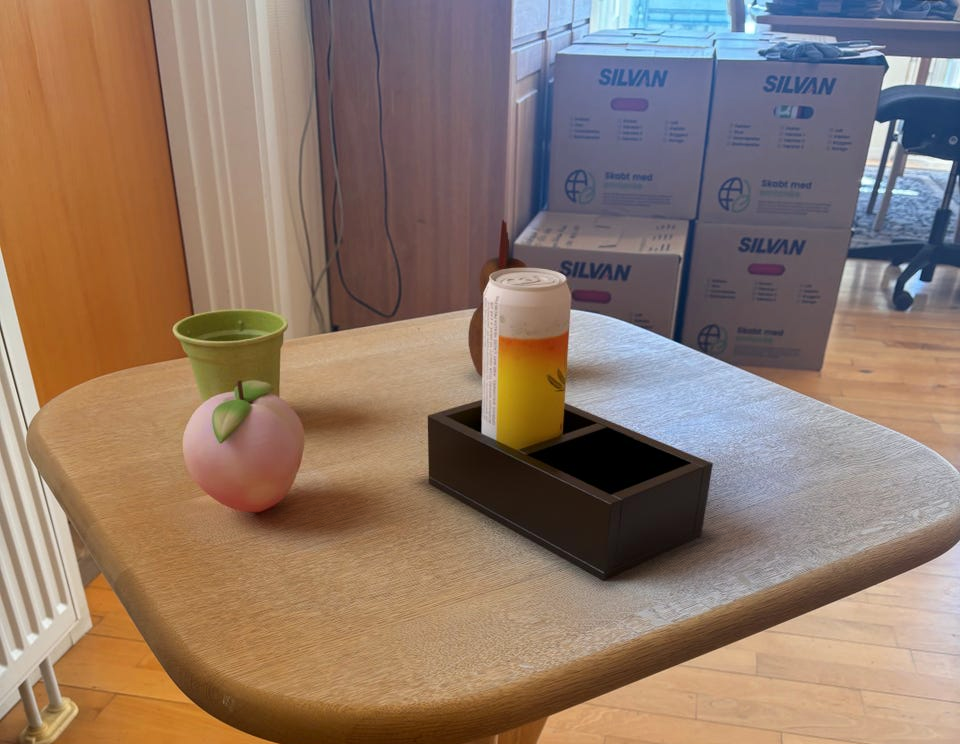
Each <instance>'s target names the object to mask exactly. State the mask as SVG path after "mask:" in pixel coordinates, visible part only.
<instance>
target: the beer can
mask: <svg viewBox="0 0 960 744" xmlns="http://www.w3.org/2000/svg"><path fill="white" fill-rule="evenodd" d="M567 279H568V278H567V276H566V275H564V274H563V273H561V272H559V271H555V270H551V269H547V268H538V267H527V268H510V269H504V270H499V271H496V272H494V273H492V274H491V275H490V277H489V282H488V284H487V286H486V289H485V291H484V293H483V296H482V297H483V301H482V302H483V365H482V377H481V380H482V381H481V400H482V434H484V435H486V436H488V437H490V438H492V439H495V440H497V441H499V442H501V443H503V444H505V445H507V446H509V447H511V448H513V449H516V450H518V449H521V448H524V447H527V446H530V445H534V444H537V443H540V442H543V441H546V440H549V439H552V438H555V437H558V436H561V435H563V420H564V404H565V403H566V387H567V370H568V356H569V355H568V354H569V340H570V339H569V338H570V325H571V308H572V293H571V291H570V288H569V285H568V282H567Z"/></svg>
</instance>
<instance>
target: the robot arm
mask: <svg viewBox="0 0 960 744" xmlns="http://www.w3.org/2000/svg"><path fill="white" fill-rule="evenodd" d="M915 1H919V2H920V1H921V2H922V1H923V2H943V1H944V0H915Z"/></svg>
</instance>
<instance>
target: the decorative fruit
mask: <svg viewBox="0 0 960 744" xmlns="http://www.w3.org/2000/svg"><path fill="white" fill-rule="evenodd" d="M272 390H274V387H273V386H272V385H270V384H268V383H265V382H262V381H255V380H253V381H246V382H243V383H242V381H241V380H237V386H236V387H235V388H234V391H232V392H227V393H223V394H219V395H216V396H214V397H212V398H210V399H208V400H207V401H205V402H204V403H203V402H202V404H201V405H199V406H198V407H197V408H196V410H194V412H193V414H192V415H191V417H190V419H189V420H188V422H187V425H186V427H185V430H184V432H183V436H182V452H183V453H182V454H183V459H184V463H185V466H186V468H187V471H188V473H189V474H190V476H191V478H192V479H193V481H194V482H195V483H196V485H197V486H199V488H200V489H201V490H202V491H203V492H204V493H205V494H207V495H208V496H210V497H211V498H212V499H213V500H215V501H217V502H218V503H220V504H221V505H222V506H225V507H228V508H230V509H232V510H236V511H239V512H245V513H261V512H263V511H266V510H268V509H270V508H271V507H273V506H275V505H277V503H280V502H281V501H282V500H283V499H284V498H285V497H286V495H287V494H288V493H289V492H290V489H291V488H292V487H293V485H294V483H295V480H296V477H297V474H298V472H299V469H300V467H301V464H302V461H303V460H302V459H303V454H304V448H305V440H306V439H305V429H304V425H303V424H302V423H303V422H302V420H301V419H300V417H299V415H298V414H297V413H296V411H295V410H294V409H293V407H292V406H291V405H290V404H289V403H288V402H287V401H285V400H284V399H282V398H281V397H280V396H279V397H278V396H276V395H274V394H271V393H269V392H270V391H272Z"/></svg>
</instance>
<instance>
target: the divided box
mask: <svg viewBox="0 0 960 744" xmlns="http://www.w3.org/2000/svg"><path fill="white" fill-rule="evenodd" d="M427 451H428V453H427V455H428V456H427V458H428V459H427V460H428V462H427V463H428V464H427V465H428V485H430V486H431V487H433V488H435V489H437V490H438V491H440V492H442V493H444V494H446V495H447V496H449V497H451V498H453V499H455V500H456V501H458V502H460V503H462V504H464V505H466V506H467V507H469V508H471V509H473V510H474V511H476V512H478V513H480V514H481V515H484V516H485V517H487V518H489V519H491V520H493V521H494V522H496V523H498V524H499V525H501V526H503V527H505V528H507V529H509V530H510V531H512V532H514V533H516V534H518V535H519V536H521V537H523V538H524V539H526V540H528V541H530V542H532V543H534V544H536V545H537V546H539V547H541V548H543V549H544V550H546V551H548V552H550V553H552V554H554V555H555V556H556V557H559V558H561V559H562V560H564V561H566V562H568V563H569V564H571V565H574V566H575V567H577V568H579V569H580V570H582V571H584V572H586V573H587V574H590V575H591V576H593V577H595V578H597V579H598V580H601V581H603V582H605V581H608V580H610V579H612V578H614V577H616V576H618V575H621V574H623V573H625V572H627V571H629V570H632V569H633V568H636V567H638V566H640V565H643V564H645V563H647V562H649V561H651V560H653V559H655V558H657V557H660V556H662V555H665V554H666V553H668V552H671V551H673V550H675V549H677V548H681V547H682V546H684V545H687V544H688V543H690V542H693V541H695V540H697V539H699V538H702V533H703V527H704V521H705V515H706V510H707V504H708V503H707V502H708V497H709V491H710V484H711V479H712V471H713V465H714V463H713V462H710V461H708V460H706V459H703V458H700V457H698V456H695V455H693V454H691V453H688V452H687V451H683V450H681V449H679V448H677V447H675V446H672V445H669V444H666V443H664V442H662V441H659V440H657V439H654V438H651V437H649V436H647V435H645V434H642V433H640V432H637V431H635V430H632V429H630V428H627V427H625V426H623V425H620V424H617V423H615V422H613V421H611V420H608V419H606V418H603V417H601V416H599V415H596V414H594V413H591V412H588V411H586V410H584V409H581V408H579V407H577V406H574V405H571V404H568V403H566V402H565V404H564V420H563V435H561V436H558V437H555V438H552V439H549V440H546V441H543V442H540V443H537V444H534V445H530V446H527V447H524V448H521V449H518V450H516V449H513V448H511V447H509V446H507V445H505V444H503V443H501V442H499V441H497V440H495V439H492V438H490V437H488V436H486V435H484V434H482V399H480V400H476V401H473V402H468V403H466V404H462V405H459V406H455V407H451V408H448V409H445V410H441V411H438V412H434V413H431V414H428V415H427Z"/></svg>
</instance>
